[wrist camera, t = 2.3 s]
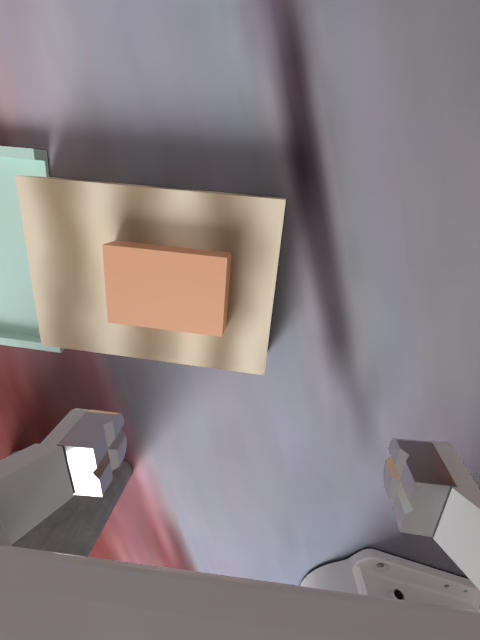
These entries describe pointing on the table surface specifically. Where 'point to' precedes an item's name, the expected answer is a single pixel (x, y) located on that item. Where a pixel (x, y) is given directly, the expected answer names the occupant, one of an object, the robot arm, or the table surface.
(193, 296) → the salmon pink block
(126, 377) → the table surface
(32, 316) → the tray
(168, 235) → the beige flat block
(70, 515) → the hip flask
